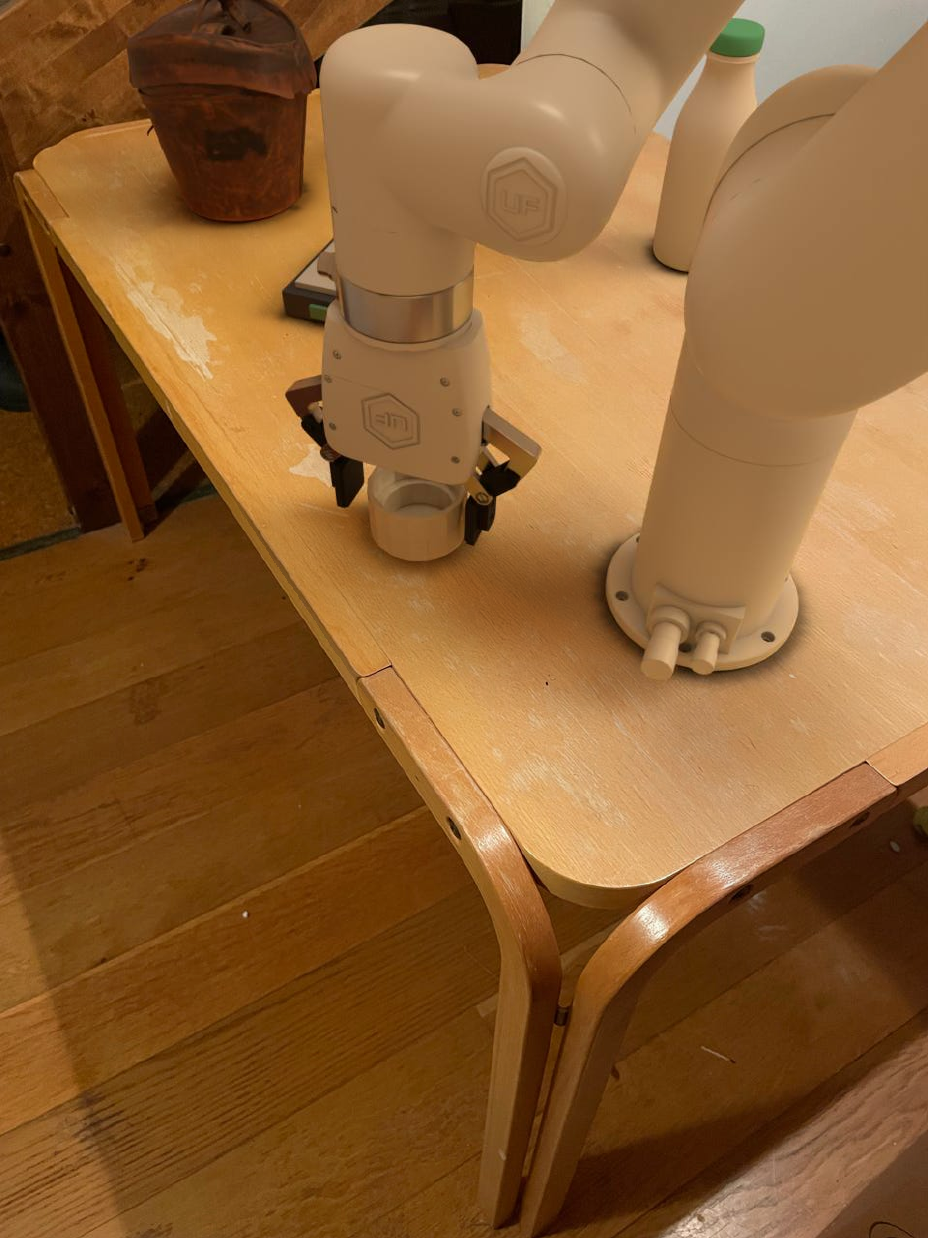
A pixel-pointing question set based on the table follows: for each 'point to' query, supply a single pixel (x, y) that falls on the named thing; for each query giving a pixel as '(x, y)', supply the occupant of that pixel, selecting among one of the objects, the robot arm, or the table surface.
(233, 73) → the brown flower pot
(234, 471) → the table surface
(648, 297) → the table surface
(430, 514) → the small cup
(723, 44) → the milk bottle
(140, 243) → the table surface
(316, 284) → the scale
